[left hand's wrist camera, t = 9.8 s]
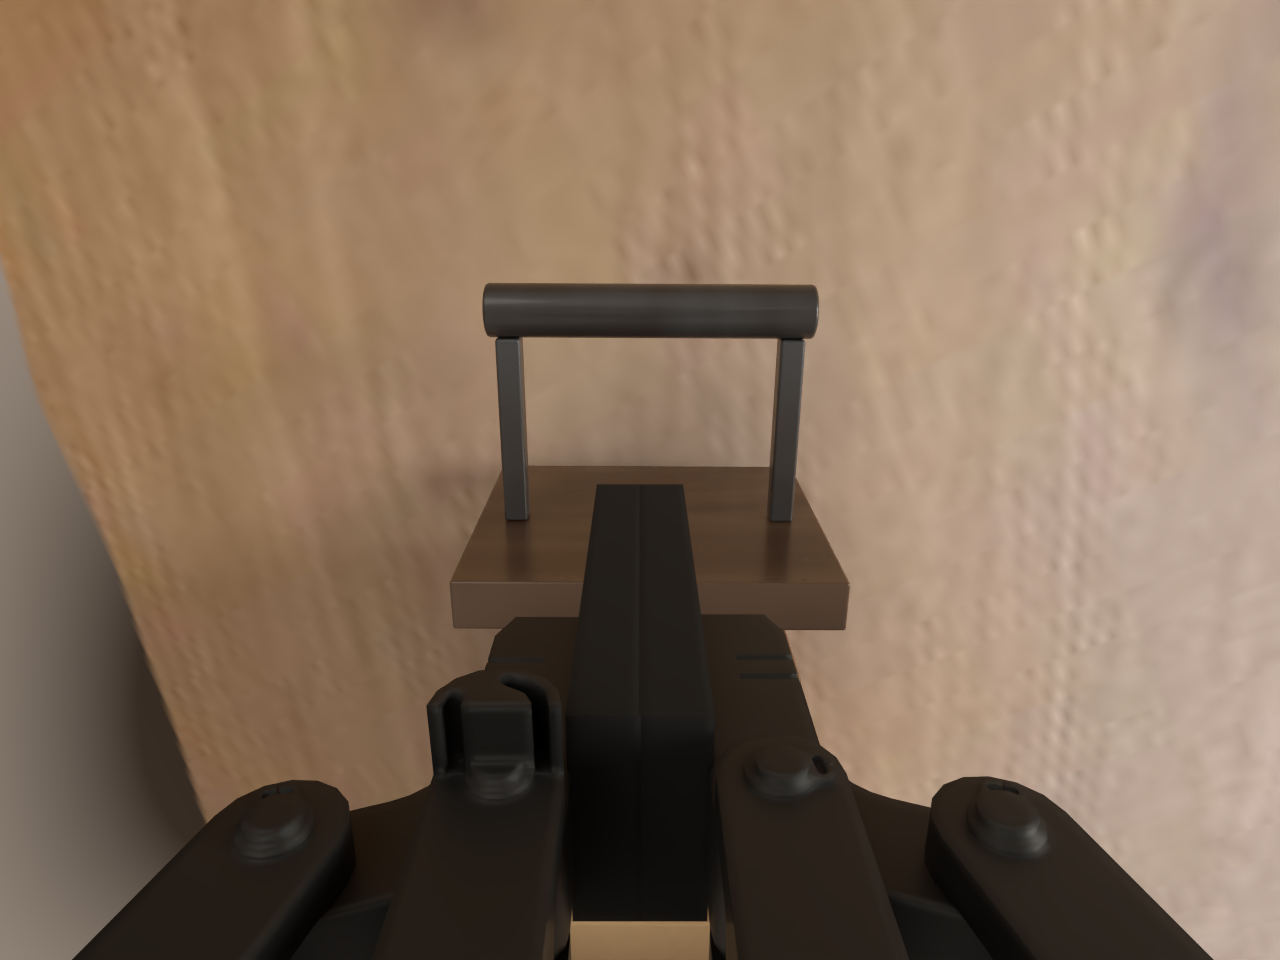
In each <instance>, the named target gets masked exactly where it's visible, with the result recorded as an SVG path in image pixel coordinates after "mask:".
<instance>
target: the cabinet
mask: <svg viewBox="0 0 1280 960" xmlns="http://www.w3.org/2000/svg"><path fill="white" fill-rule="evenodd" d="M570 939H571V960H709V939H710V923H709V912H708V916H707V921H573V916H571V927H570Z"/></svg>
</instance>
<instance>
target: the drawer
mask: <svg viewBox="0 0 1280 960" xmlns="http://www.w3.org/2000/svg"><path fill="white" fill-rule="evenodd" d="M818 317H819V297H818V292H817V288H816V287H815V286H814V285H759V284H575V283H488V284H486V285H485V288H484V292H483V322H484V328H485V331H486V334H487V336H489V337H498V338H497V339H496V341H495V347H496V365H497V383H498V402H499V420H500V438H501V456H502V471H501V473H500V475H499V478H498V480H497V482H496V484H495V486H494V488H493V490H492V493H491V495H490V497H489V499H488V501H487V503H486V506H485V508H484V510H483V512H482V514H481V516H480V518H479V521H478V523H477V525H476V527H475V529H474V531H473V534H472V536H471V538H470V540H469V542H468V544H467V547H466V549H465V551H464V553H463V555H462V557H461V559H460V562H459V564H458V566H457V568H456V570H455V572H454V575H453V577H452V579H451V581H450V592H451V605H452V617H453V626H454V628H504V627H506V626H507V625H508V624H509V623H510V622H511V621H512V620H513V619H514V618H515V617H579V611H580V603H581V596H582V589H583V581H584V574H585V567H586V560H587V552H588V545H589V538H590V530H591V523H592V516H593V509H594V501H595V494H596V487H597V484H683V487H684V494H685V501H686V509H687V516H688V523H689V530H690V538H691V545H692V552H693V560H694V567H695V574H696V581H697V589H698V596H699V603H700V611H701V614H765V615H766V616H767V617H768V618H769V619H770V620H771V621H772V622H773V623H774V624H775V625H776V626H778V627H779V628H780V629H781V630H782V631H783V632H784V633H785V635H786V632H785V630H845V628H846V620H847V610H848V600H849V591H850V583H849V581H848V579H847V577H846V575H845V573H844V572H843V570H842V568H841V566H840V564H839V562H838V560H837V558H836V556H835V554H834V552H833V550H832V548H831V546H830V544H829V542H828V540H827V538H826V536H825V534H824V532H823V530H822V528H821V526H820V524H819V522H818V520H817V518H816V516H815V514H814V512H813V510H812V508H811V506H810V504H809V502H808V501H807V499H806V497H805V495H804V493H803V491H802V489H801V487H800V485H799V483H798V481H797V479H796V477H795V476H796V462H797V449H798V435H799V422H800V408H801V395H802V381H803V368H804V354H805V341H804V340H803V339H811V338H813V337H814V335H815V333H816V329H817V325H818ZM522 337H559V338H746V339H778V342H777V358H776V374H775V390H774V406H773V422H772V438H771V454H770V467H650V466H528V454H527V431H526V408H525V385H524V362H523V339H522ZM786 638H787V635H786ZM787 642H788V645H789V641H788V638H787ZM789 648H790V645H789ZM790 651H791V648H790ZM791 654H792V651H791ZM792 660H793V661H794V664H795V660H794V657H793V654H792ZM795 667H796V664H795ZM796 670H797V667H796ZM797 674H798V679H799V680H800V676H799V673H798V670H797ZM800 681H801V680H800Z"/></svg>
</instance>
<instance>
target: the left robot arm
mask: <svg viewBox="0 0 1280 960" xmlns="http://www.w3.org/2000/svg"><path fill="white" fill-rule="evenodd" d="M427 715H428V725H429V734H430V744H431V754H432V763H433V773H434V775H433V778H432V781H431V784H430V785H429V786H428V787H426V788H424V789H421V790H419V791H417V792H415V793H413V794H411V795H409V796H406V797H403V798H400V799H397V800H393V801H390V802H386V803H382V804H378V805H373V806H369V807H365V808H361V809H356V810H352V811H350V810H349V804H348V801H347V800H346V798H345V797H344V796H343V795H342V794H341V793H340V791H339V790H338V789H337V788H335V787H332V786H330V785H327V784H324V783H322V782H319V781H308V780H290V781H286V782H281V783H276V784H272V785H267V786H264V787H261V788H259V789H257V790H255V791H253V792H250V793H248V794H246V795H244V796H242V797H240V798H237V799H236V800H235V801H233V802H232V803H231V804H230V805H228V806H227V807H226V808H224V809H223V810H222V811H221V812H219V813H218V814H217V815H215V816H214V817H213V818H212V819H211V820H210V821H209V822H208V823H207V824H206V825H205V826H204V827H203V828H202V829H201V830H200V832H198V833H197V834H196V835H195V836H194V837H193V838H192V839H191V840H190V841H189V842H188V843H187V844H186V845H185V847H183V848H182V849H181V850H180V851H179V853H178V854H177V855H176V856H175V857H174V858H173V859H172V860H171V861H170V862H169V863H168V864H167V865H166V866H165V867H164V868H163V869H162V870H161V871H160V872H159V873H158V874H157V875H156V876H155V877H154V878H153V879H152V880H151V881H150V882H149V883H148V884H147V885H146V886H145V887H144V888H143V889H142V890H141V891H140V892H139V893H138V894H137V895H136V896H135V897H134V898H133V899H132V900H131V901H130V902H129V903H128V904H127V905H126V906H125V907H124V908H123V909H122V910H121V911H120V912H119V913H118V914H117V915H116V916H115V917H114V918H113V919H112V920H111V921H110V922H109V923H108V924H107V925H106V926H105V927H104V928H103V929H102V930H101V931H100V932H99V933H98V934H97V935H96V936H95V937H94V938H93V939H92V940H91V941H90V942H89V943H88V944H87V945H86V946H85V947H84V948H83V949H82V950H81V951H80V952H79V953H78V954H77V955H76V956H75V957H74V958H73V959H72V960H571V939H570V927H571V916H573V921H707V916H708V912H709V923H710V939H709V960H1213V959H1212V958H1211V957H1210V956H1209V955H1208V954H1207V953H1206V952H1205V951H1204V950H1203V949H1202V948H1201V947H1200V946H1199V945H1198V944H1197V943H1196V942H1195V941H1194V940H1193V939H1192V938H1191V937H1190V936H1189V935H1188V934H1187V933H1186V932H1185V931H1184V930H1183V929H1182V928H1181V927H1180V926H1179V925H1178V924H1177V923H1176V922H1175V921H1174V920H1173V919H1172V918H1171V917H1170V916H1169V915H1168V914H1167V913H1166V912H1165V911H1164V910H1163V909H1162V908H1161V907H1160V906H1159V905H1158V904H1157V903H1156V902H1155V901H1154V900H1153V899H1152V898H1151V897H1150V896H1149V895H1148V894H1147V893H1146V892H1145V891H1144V890H1143V889H1142V888H1141V887H1140V886H1139V885H1138V884H1137V883H1136V882H1135V881H1134V880H1133V879H1132V878H1131V877H1130V876H1129V875H1128V874H1127V873H1126V872H1125V871H1124V870H1123V869H1122V868H1121V867H1120V866H1119V865H1118V864H1117V863H1116V862H1115V861H1114V860H1113V859H1112V858H1111V857H1110V856H1109V855H1108V854H1107V853H1106V852H1105V851H1104V850H1103V849H1102V848H1101V847H1100V846H1099V845H1098V844H1097V843H1096V842H1095V841H1094V840H1093V839H1092V838H1091V837H1090V836H1089V835H1088V834H1087V833H1086V832H1085V831H1084V830H1083V829H1082V828H1081V827H1080V826H1079V825H1078V824H1077V823H1076V822H1075V821H1074V820H1073V819H1072V818H1071V817H1070V816H1069V815H1068V814H1067V813H1066V812H1065V811H1064V810H1063V809H1061V808H1060V807H1059V806H1057V805H1056V804H1055V803H1053V802H1052V801H1051V800H1049V799H1048V798H1047V797H1046V796H1044V795H1043V794H1040V793H1038V792H1036V791H1034V790H1032V789H1029V788H1027V787H1025V786H1023V785H1021V784H1018V783H1016V782H1012V781H1007V780H1002V779H998V778H993V777H989V776H988V777H963V778H960V779H957V780H955V781H952V782H949V783H947V784H944V785H943V786H942V787H941V788H940V790H939V791H938V792H937V793H936V794H935V796H934V797H933V798H932V804H931V808H930V807H926V806H921V805H917V804H913V803H908V802H904V801H900V800H896V799H891V798H888V797H885V796H882V795H878V794H875V793H872V792H870V791H868V790H866V789H864V788H861V787H859V786H857V785H855V784H853V783H852V782H850V781H849V780H848V777H847V774H846V772H845V771H844V769H843V767H842V766H841V764H840V763H839V761H838V760H837V758H836V757H835V756H834V755H832V754H831V753H830V752H828V751H827V750H826V749H824V748H823V747H822V746H820V744H819V741H818V737H817V734H816V731H815V728H814V725H813V722H812V718H811V715H810V712H809V709H808V706H807V702H806V699H805V696H804V693H803V690H802V686H801V683H800V680H799V679H798V674H797V670H796V667H795V664H794V661H793V660H792V654H791V651H790V648H789V645H788V642H787V638H786V635H785V633H784V632H783V631H782V630H781V629H780V628H779V627H778V626H776V625H775V624H774V623H773V622H772V621H771V620H770V619H769V618H768V617H767V616H766V615H765V614H701V611H700V603H699V596H698V589H697V581H696V574H695V567H694V560H693V552H692V545H691V538H690V530H689V523H688V516H687V509H686V501H685V494H684V487H683V484H597V487H596V494H595V501H594V509H593V516H592V523H591V530H590V538H589V545H588V552H587V560H586V567H585V574H584V581H583V589H582V596H581V603H580V611H579V617H515V618H514V619H513V620H512V621H511V622H510V623H509V624H508V625H507V626H506V627H504V628H503V629H502V630H501V631H500V632H499V633H498V634H497V635H496V636H495V638H494V642H493V645H492V648H491V651H490V655H489V658H488V663H487V664H486V667H485V670H481V671H477V672H474V673H471V674H468V675H465V676H462V677H459V678H456V679H454V680H453V681H451V682H450V683H448V684H447V685H445V686H444V687H442V688H441V689H439V690H438V691H437V692H436V693H435V695H434V696H433V697H432V699H431V700H430V702H429V703H428V704H427Z"/></svg>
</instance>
